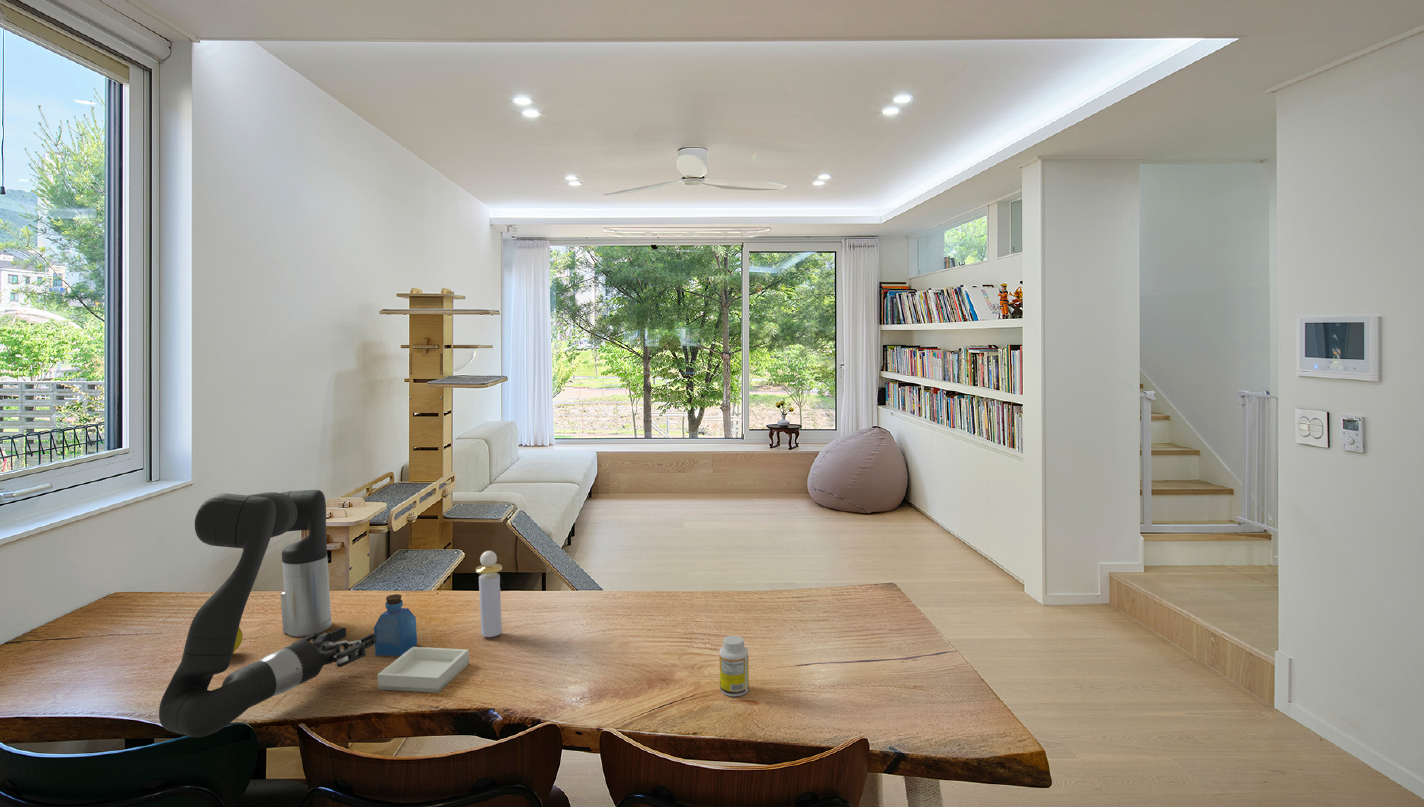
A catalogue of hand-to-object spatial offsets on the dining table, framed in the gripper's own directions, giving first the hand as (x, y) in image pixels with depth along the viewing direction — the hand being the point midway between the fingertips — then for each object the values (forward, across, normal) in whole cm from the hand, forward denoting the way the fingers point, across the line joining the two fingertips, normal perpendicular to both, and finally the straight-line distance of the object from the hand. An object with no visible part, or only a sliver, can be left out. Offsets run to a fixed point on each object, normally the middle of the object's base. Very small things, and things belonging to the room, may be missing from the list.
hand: (359, 634), depth 148 cm
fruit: (-7, +32, +7) cm, 33 cm away
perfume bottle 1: (+9, 0, +7) cm, 12 cm away
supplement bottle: (+19, -76, +7) cm, 79 cm away
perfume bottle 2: (+23, -15, +7) cm, 28 cm away
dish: (+2, -16, +7) cm, 17 cm away
